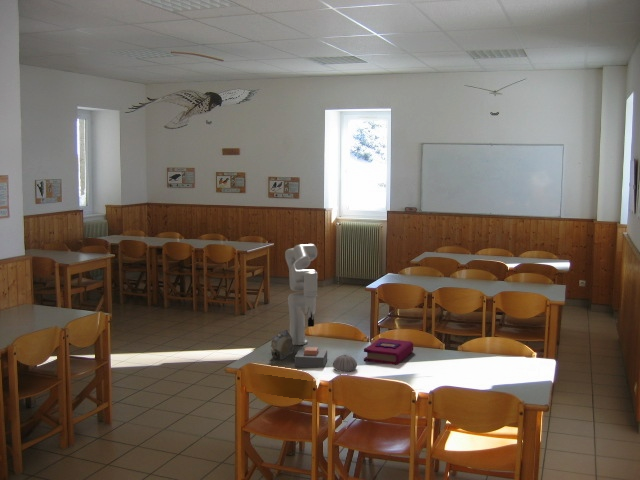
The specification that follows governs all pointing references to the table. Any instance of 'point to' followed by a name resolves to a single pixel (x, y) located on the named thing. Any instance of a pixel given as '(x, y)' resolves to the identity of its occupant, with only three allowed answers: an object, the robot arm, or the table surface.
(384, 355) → the book
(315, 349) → the button
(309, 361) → the button box
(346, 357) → the sea urchin shell
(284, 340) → the fossil rock
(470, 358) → the table surface
